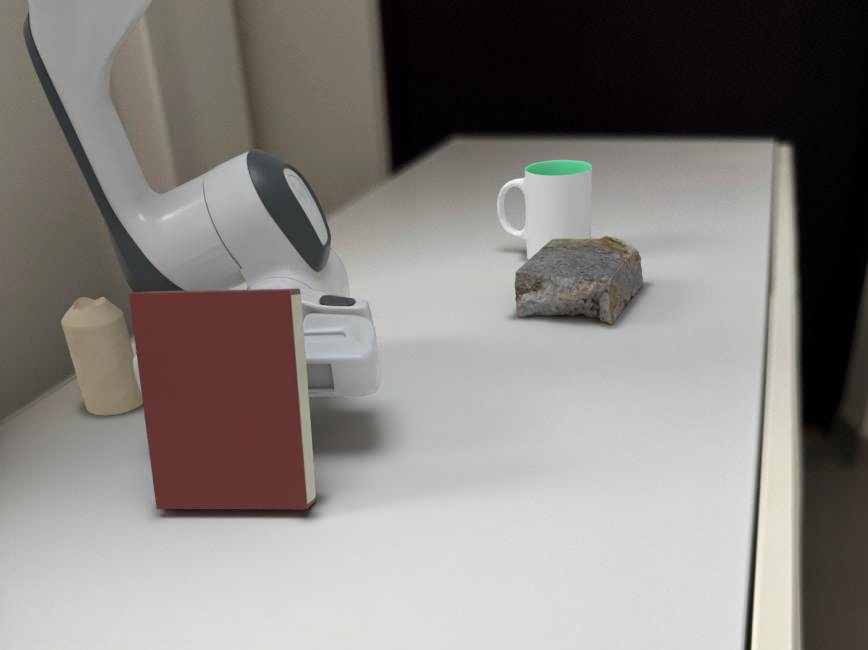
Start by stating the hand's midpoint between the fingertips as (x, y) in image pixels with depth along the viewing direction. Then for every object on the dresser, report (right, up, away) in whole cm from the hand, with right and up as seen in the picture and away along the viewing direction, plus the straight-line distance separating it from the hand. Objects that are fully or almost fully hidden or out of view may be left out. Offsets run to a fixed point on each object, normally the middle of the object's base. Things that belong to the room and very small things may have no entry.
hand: (236, 403), depth 82 cm
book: (0, -8, +1) cm, 8 cm away
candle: (-16, +4, +20) cm, 26 cm away
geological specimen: (+30, +19, +37) cm, 51 cm away
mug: (+27, +30, +52) cm, 65 cm away
